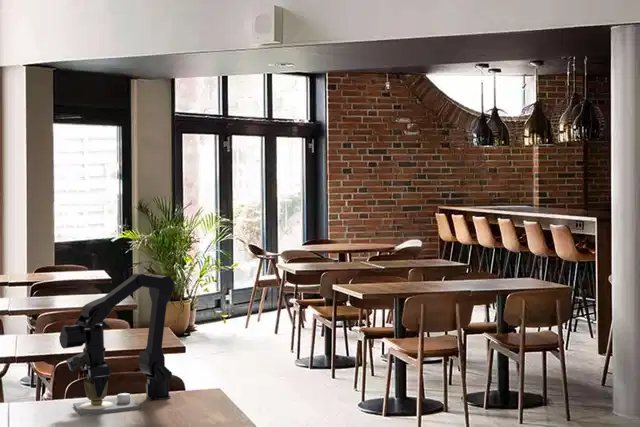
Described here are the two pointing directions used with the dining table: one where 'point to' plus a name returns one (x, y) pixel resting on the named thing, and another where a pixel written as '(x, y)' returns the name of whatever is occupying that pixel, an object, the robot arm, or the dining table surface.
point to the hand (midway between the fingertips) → (96, 394)
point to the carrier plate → (108, 405)
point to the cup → (94, 392)
